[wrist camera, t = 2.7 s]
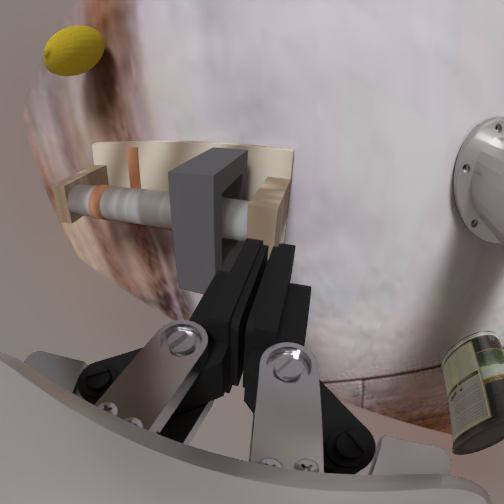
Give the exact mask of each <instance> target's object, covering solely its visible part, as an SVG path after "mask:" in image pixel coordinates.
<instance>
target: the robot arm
mask: <svg viewBox="0 0 504 504" xmlns="http://www.w3.org/2000/svg"><path fill="white" fill-rule="evenodd" d="M495 126H496V128H495ZM463 166H464V168H463ZM454 196H455V201H456V205H457V208H458V211H459V214H460V216H461V218H462V220H463V221H464V223H465V224H466V226H467V227H468V228H469V229H470V231H471V232H472V233H473V234H475V235H476V236H477V237H478V238H480V239H482V240H483V241H486V242H490V243H501V244H502V245H503V246H504V118H492V119H489V120H485V121H484V122H482V123H481V124H479V125H478V126H476V127H475V128H474V129H473V131H472V132H471V133H470V134H469V135H468V137H467V138H466V140H465V141H464V143H463V145H462V147H461V149H460V152H459V154H458V158H457V161H456V165H455V172H454ZM268 249H269V246H268V245H263V240H257V239H251V238H247V239H246V241H245V243H244V245H243V247H242V249H241V251H240V253H239V255H238V257H237V258H236V260H235V262H234V264H233V266H232V268H231V270H230V272H226V271H220V270H219V271H217V272H216V274H215V276H214V277H213V279H212V281H211V283H210V284H209V286H208V288H207V290H206V291H205V293H204V295H203V297H202V299H201V300H200V302H199V304H198V306H197V307H196V309H195V311H194V313H193V315H192V316H191V318H190V320H189V321H188V320H177V321H173V322H170V323H168V324H166V325H164V326H163V327H161V328H160V329H159V330H158V331H157V332H156V334H155V335H154V336H153V337H152V338H151V339H150V341H149V342H148V343H147V344H146V345H145V347H143V348H140V349H137V350H134V351H131V352H128V353H125V354H122V355H118V356H115V357H111V358H108V359H105V360H102V361H98V362H95V363H93V364H90V365H86V363H85V362H84V361H80V360H75V359H71V358H67V357H63V356H59V355H55V354H51V353H47V352H44V351H36V352H33V353H31V354H30V355H29V356H28V357H27V358H26V359H25V361H24V362H22V361H20V360H19V359H17V358H15V357H13V356H10V355H8V354H5V353H1V352H0V504H492V502H491V499H490V496H489V495H488V493H487V491H486V490H485V489H484V488H483V487H481V486H480V485H479V484H477V483H475V482H473V481H470V480H467V479H465V478H462V477H456V476H451V475H450V469H451V459H450V457H449V455H448V453H447V452H446V451H445V450H444V449H443V448H440V447H438V446H432V445H426V444H421V443H416V442H411V441H406V440H401V439H397V438H393V437H389V436H385V435H384V436H383V437H381V438H380V437H376V436H373V435H372V434H371V433H370V431H369V430H368V429H367V428H366V427H365V426H364V425H363V424H362V423H361V422H360V421H359V420H358V419H357V418H356V417H355V416H354V415H353V414H352V413H351V412H350V411H349V410H348V409H347V408H346V407H345V406H344V405H343V404H342V403H341V402H340V401H339V400H338V399H337V398H336V397H335V396H334V394H333V393H332V392H331V391H330V390H329V389H328V388H327V387H326V386H325V385H324V384H323V383H322V382H321V381H320V380H319V371H318V363H317V360H316V357H315V356H314V355H313V353H312V352H311V351H310V350H308V349H307V348H306V347H304V344H305V337H306V329H307V321H308V313H309V304H310V295H311V286H305V285H299V284H293V283H290V279H291V273H292V266H293V260H294V253H295V246H294V245H288V244H282V243H280V244H279V247H275V246H273V248H272V251H271V254H270V257H269V260H268ZM267 260H268V262H267ZM242 373H243V387H244V388H245V395H244V401H245V402H246V404H247V405H248V407H249V408H250V409H251V411H252V412H253V421H252V433H251V442H250V452H249V462H248V461H243V460H239V459H235V458H230V457H227V456H223V455H219V454H215V453H212V452H208V451H205V450H202V449H198V448H195V447H192V446H189V443H190V442H191V440H192V438H193V437H194V435H195V434H196V432H197V430H198V429H199V427H200V425H201V424H202V422H203V420H204V419H205V417H206V415H207V413H208V412H209V410H210V408H211V407H212V405H213V402H214V399H217V398H219V397H221V396H224V393H225V392H227V393H230V390H231V387H232V385H235V386H238V385H239V381H240V379H241V376H242Z"/></svg>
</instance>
